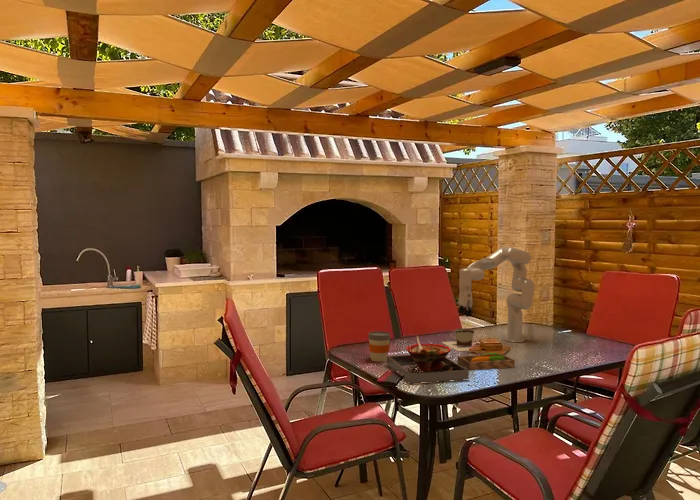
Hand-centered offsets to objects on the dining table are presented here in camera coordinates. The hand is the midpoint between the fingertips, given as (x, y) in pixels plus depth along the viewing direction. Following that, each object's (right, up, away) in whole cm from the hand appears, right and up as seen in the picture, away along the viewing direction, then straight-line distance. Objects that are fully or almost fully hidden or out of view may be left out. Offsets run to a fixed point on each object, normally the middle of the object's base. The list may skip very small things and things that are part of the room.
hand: (464, 315), depth 340 cm
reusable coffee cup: (-56, -21, -34) cm, 69 cm away
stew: (-31, -23, -54) cm, 67 cm away
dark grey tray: (-33, -23, -59) cm, 72 cm away
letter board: (0, -20, +1) cm, 20 cm away
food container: (-1, -19, +3) cm, 20 cm away
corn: (+3, -23, -46) cm, 51 cm away
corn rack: (+2, -22, -44) cm, 49 cm away
